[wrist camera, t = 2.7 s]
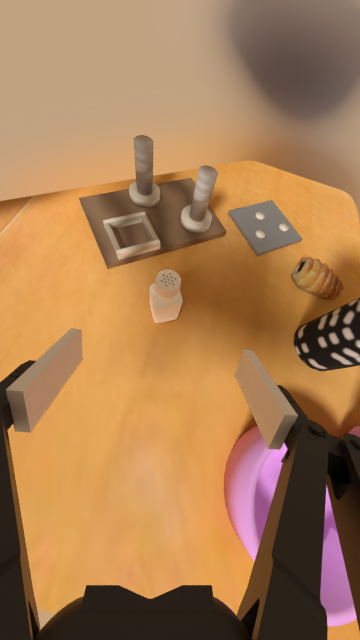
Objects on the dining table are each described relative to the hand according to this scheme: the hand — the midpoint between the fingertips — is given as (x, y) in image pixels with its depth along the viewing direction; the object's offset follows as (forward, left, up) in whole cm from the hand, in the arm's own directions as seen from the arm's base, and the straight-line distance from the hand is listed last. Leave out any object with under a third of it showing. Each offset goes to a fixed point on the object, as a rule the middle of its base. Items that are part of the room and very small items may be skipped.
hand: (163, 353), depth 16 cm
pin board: (-7, +29, -14) cm, 33 cm away
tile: (+16, +35, -14) cm, 41 cm away
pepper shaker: (-1, +10, -14) cm, 17 cm away
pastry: (+26, +24, -14) cm, 38 cm away
